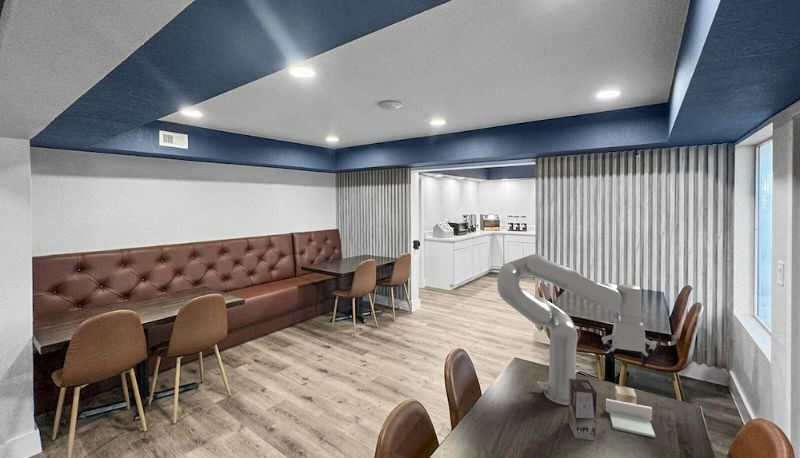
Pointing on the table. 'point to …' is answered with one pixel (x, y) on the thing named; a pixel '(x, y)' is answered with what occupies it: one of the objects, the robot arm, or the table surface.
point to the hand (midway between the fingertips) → (627, 362)
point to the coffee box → (582, 409)
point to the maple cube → (625, 394)
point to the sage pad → (632, 424)
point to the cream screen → (629, 409)
